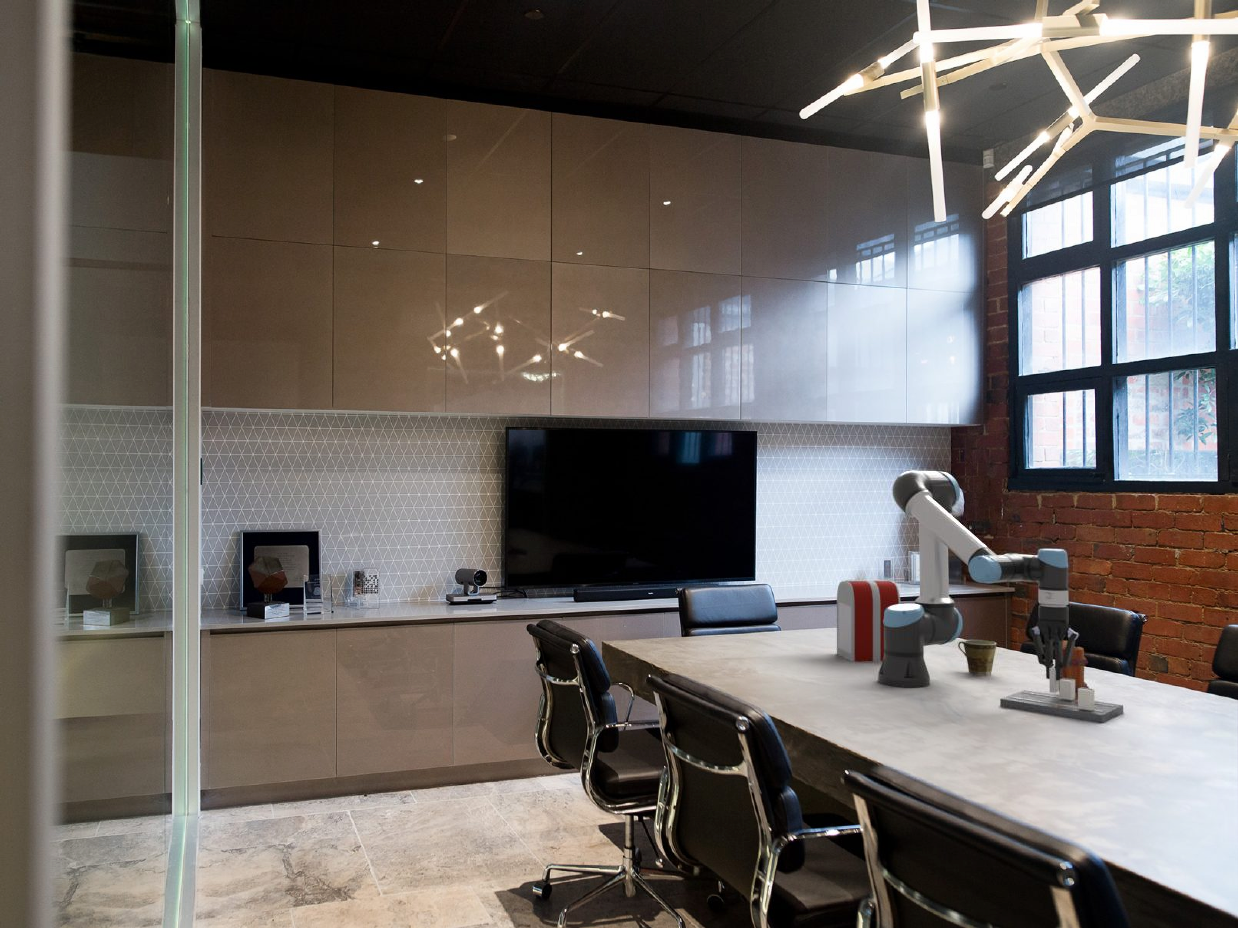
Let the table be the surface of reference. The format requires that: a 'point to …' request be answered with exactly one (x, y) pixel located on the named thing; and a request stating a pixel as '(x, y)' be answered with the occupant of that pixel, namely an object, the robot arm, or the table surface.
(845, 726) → the table surface
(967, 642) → the ceramic cup
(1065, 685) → the fader far
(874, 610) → the red striped block
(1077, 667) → the mug
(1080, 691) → the fader near
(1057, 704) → the console
